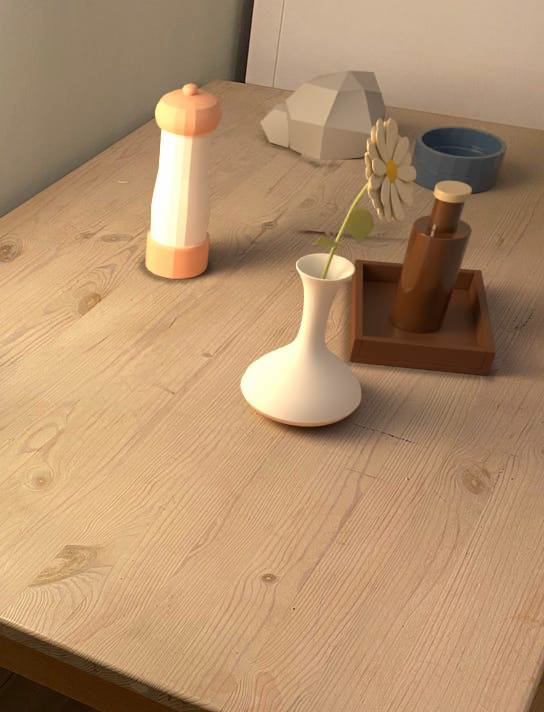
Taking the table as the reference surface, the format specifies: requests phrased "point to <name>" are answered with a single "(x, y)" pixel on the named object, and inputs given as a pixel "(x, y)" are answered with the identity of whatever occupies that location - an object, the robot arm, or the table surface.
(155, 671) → the table surface
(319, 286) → the flower in vase
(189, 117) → the pepper shaker
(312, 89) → the rock
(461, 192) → the bottle
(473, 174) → the bowl
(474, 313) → the tray
